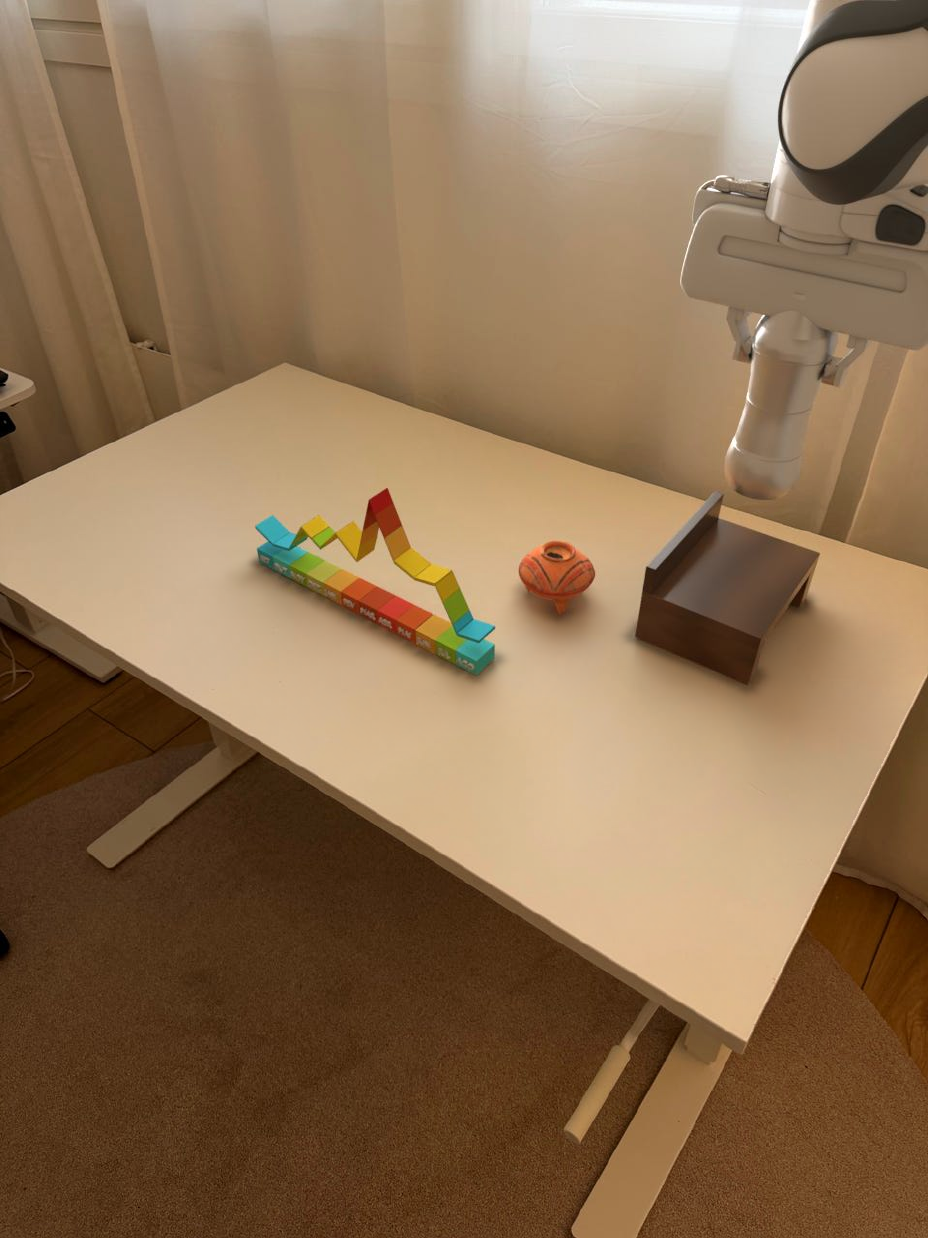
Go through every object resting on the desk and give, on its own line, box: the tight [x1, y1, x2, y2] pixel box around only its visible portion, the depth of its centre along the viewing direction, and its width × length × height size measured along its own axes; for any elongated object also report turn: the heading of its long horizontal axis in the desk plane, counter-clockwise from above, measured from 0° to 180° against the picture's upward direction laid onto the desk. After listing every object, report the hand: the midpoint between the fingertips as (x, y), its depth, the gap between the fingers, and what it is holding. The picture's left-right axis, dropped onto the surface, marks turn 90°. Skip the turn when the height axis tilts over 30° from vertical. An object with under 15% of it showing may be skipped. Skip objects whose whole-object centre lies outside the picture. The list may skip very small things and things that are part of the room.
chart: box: [254, 487, 496, 676], centre depth 89 cm, size 30×3×15 cm, turn 53°
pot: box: [518, 540, 596, 615], centre depth 93 cm, size 8×8×7 cm
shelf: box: [634, 491, 821, 686], centre depth 90 cm, size 12×16×9 cm
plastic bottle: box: [723, 279, 839, 501], centre depth 75 cm, size 6×7×20 cm
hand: (787, 371), depth 74 cm, fingers closed on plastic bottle, 6 cm apart
